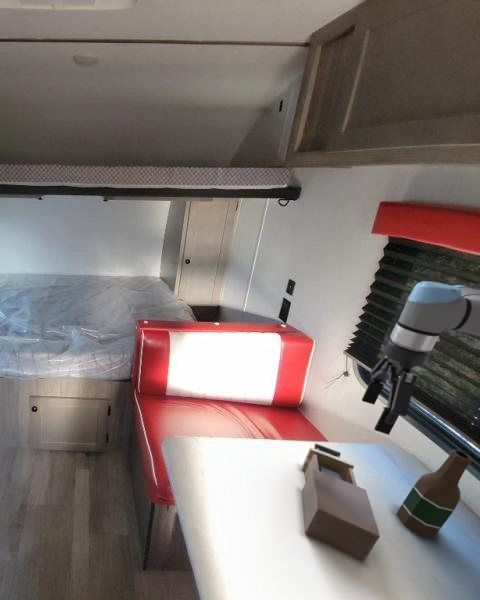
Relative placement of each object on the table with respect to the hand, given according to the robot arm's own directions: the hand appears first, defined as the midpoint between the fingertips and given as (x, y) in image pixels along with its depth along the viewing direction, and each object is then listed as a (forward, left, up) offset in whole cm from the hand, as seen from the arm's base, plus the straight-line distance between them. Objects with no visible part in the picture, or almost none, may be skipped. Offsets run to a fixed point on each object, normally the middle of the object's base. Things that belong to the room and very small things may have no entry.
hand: (374, 416), depth 88 cm
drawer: (+5, +6, -22) cm, 24 cm away
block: (+5, +8, -21) cm, 23 cm away
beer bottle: (-15, +6, -24) cm, 28 cm away
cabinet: (+5, +19, -23) cm, 30 cm away
